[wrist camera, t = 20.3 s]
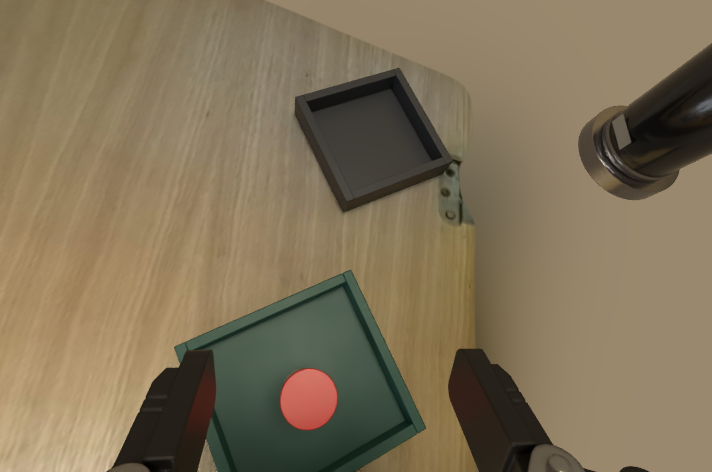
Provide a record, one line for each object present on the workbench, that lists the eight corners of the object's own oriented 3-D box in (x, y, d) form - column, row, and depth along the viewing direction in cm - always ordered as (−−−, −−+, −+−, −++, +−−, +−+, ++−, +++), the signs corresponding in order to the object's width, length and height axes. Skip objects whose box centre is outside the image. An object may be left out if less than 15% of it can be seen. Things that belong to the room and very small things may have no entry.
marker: (312, 359, 32) (323, 358, 22) (328, 397, 31) (347, 412, 22) (275, 378, 31) (270, 384, 21) (291, 417, 30) (293, 442, 21)
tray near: (346, 275, 35) (351, 269, 32) (415, 423, 32) (426, 428, 30) (182, 347, 31) (173, 346, 28) (245, 525, 28) (241, 540, 25)
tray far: (392, 84, 42) (399, 67, 40) (443, 173, 40) (453, 161, 38) (294, 113, 39) (295, 96, 37) (342, 212, 37) (346, 201, 34)
